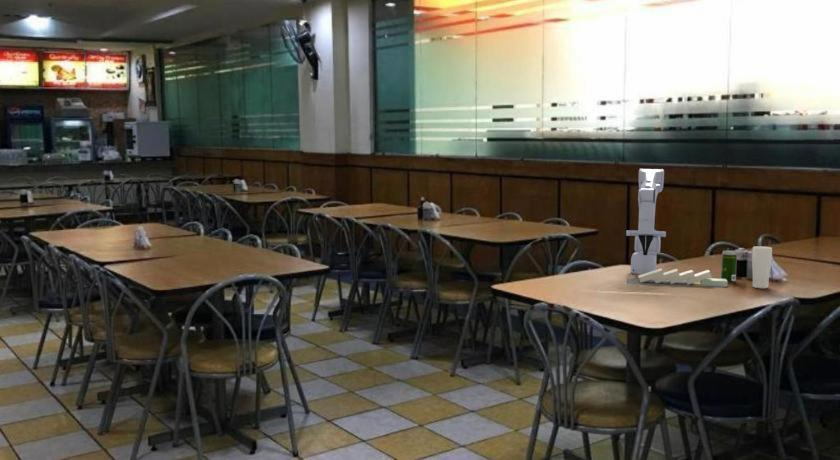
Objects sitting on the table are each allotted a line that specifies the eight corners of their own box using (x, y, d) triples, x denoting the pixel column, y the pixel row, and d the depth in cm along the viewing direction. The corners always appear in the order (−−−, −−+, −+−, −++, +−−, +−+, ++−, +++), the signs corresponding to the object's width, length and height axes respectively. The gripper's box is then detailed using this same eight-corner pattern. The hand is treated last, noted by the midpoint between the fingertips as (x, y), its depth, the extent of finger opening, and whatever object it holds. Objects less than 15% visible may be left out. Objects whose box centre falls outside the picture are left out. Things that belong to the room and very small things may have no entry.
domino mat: (627, 285, 306) (627, 283, 306) (626, 280, 316) (626, 278, 316) (721, 290, 298) (721, 287, 298) (718, 284, 308) (718, 282, 308)
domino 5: (701, 280, 302) (727, 281, 300) (700, 277, 307) (725, 278, 305) (701, 285, 302) (727, 286, 300) (700, 283, 307) (725, 284, 305)
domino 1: (638, 277, 307) (662, 270, 305) (638, 275, 312) (661, 268, 310) (640, 282, 307) (663, 275, 305) (640, 280, 312) (663, 273, 310)
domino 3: (669, 279, 305) (693, 271, 302) (668, 276, 309) (692, 269, 307) (671, 284, 305) (695, 276, 302) (670, 281, 309) (693, 274, 307)
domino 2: (654, 278, 306) (677, 270, 304) (653, 276, 311) (676, 268, 308) (655, 283, 306) (679, 275, 304) (655, 281, 311) (678, 273, 308)
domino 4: (685, 279, 303) (709, 271, 301) (684, 277, 308) (708, 269, 306) (687, 284, 303) (711, 276, 301) (686, 282, 308) (710, 274, 306)
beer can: (738, 282, 313) (739, 251, 311) (730, 284, 309) (732, 252, 308) (725, 280, 317) (726, 249, 315) (717, 282, 314) (719, 251, 312)
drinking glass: (749, 288, 301) (751, 248, 300) (751, 285, 307) (753, 245, 306) (769, 289, 298) (771, 249, 296) (771, 286, 304) (773, 246, 302)
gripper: (626, 220, 309) (625, 255, 311) (666, 221, 306) (665, 257, 307) (626, 218, 316) (625, 253, 317) (665, 219, 313) (664, 254, 314)
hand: (645, 255), depth 313 cm, fingers closed
